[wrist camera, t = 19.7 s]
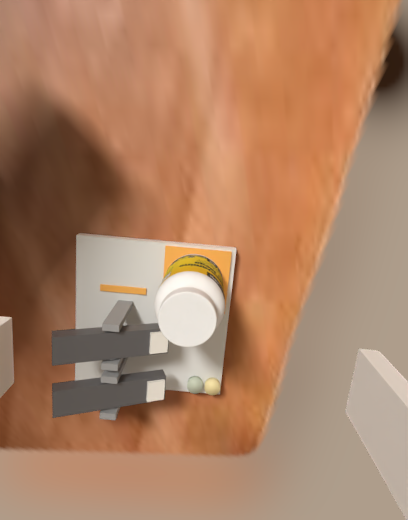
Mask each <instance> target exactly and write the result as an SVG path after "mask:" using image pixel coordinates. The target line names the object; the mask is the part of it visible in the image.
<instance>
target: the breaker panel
mask: <svg viewBox="0 0 408 520" xmlns="http://www.w3.org/2000/svg"><path fill="white" fill-rule="evenodd" d="M188 254H200V255H203V256H206V257H208V258H209V259H211V260H212V261H213V262H215V264H216V265H217V266H218V267H219V269H220V271H221V274H222V277H223V285H224V296H225V312H224V316H223V319H222V321H221V323H220V324H219V326H218V327H217V328H216V329H215V331H214V333H213V335H212V336H211V337H210V338H209V339H208V340H207V341H206V342H204V343H203V344H201V345H198V346H194V347H182V346H178V345H175V344H173V343H172V342H170V341H169V347H168V353H165V354H155V355H146V356H137V357H128V358H118V359H115V360H100V361H91V362H81V363H75V381H76V380H83V379H91V378H99V377H101V383H111V384H117V383H118V381H119V378H120V376H121V375H122V374H130V373H138V372H146V371H153V370H161V369H163V371H164V373H165V375H166V387H165V390H174V391H186V392H191V393H193V394H197V393H207V394H209V395H216V394H220V388H221V379H222V371H223V362H224V353H225V345H226V336H227V327H228V319H229V310H230V301H231V293H232V284H233V275H234V267H235V258H236V247H227V246H216V245H205V244H194V243H183V242H172V241H162V240H151V239H140V238H129V237H118V236H107V235H96V234H85V233H79V234H77V235H76V329H83V328H97V327H102V331H112V332H119V331H120V329H121V328H122V326H123V325H137V324H150V323H158V320H157V318H156V315H155V309H154V302H155V297H156V293H157V291H158V289H159V287H160V285H161V283H162V280H163V278H164V276H165V274H166V272H167V270H168V268H169V267H170V265H171V264H172V263H173V262H174V261H175V260H176V259H178V258H180V257H182V256H184V255H188ZM119 410H120V407H117V408H113V409H104V410H101V411H100V419H107V420H116V418H117V415H118V413H119Z"/></svg>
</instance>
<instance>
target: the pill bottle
mask: <svg viewBox="0 0 408 520" xmlns="http://www.w3.org/2000/svg"><path fill="white" fill-rule="evenodd" d="M154 309H155V315H156V318H157V320H158V325H159V328H160V330H161V332H162V334H163V335H164V336H165V338H166V339H167V340H169V341H170V342H172V343H173V344H175V345H178V346H182V347H194V346H198V345H201V344H203V343H204V342H206V341H207V340H208V339H209V338H210V337H211V336H212V335H213V333H214V331H215V329H216V328H217V327H218V326H219V324H220V323H221V321H222V319H223V316H224V312H225V296H224V285H223V277H222V274H221V271H220V269H219V267H218V266H217V265H216V264H215V262H213V261H212V260H211V259H209V258H208V257H206V256H203V255H200V254H188V255H184V256H182V257H180V258H178V259H176V260H175V261H174V262H173V263H172V264H171V265H170V267H169V268H168V270H167V272H166V274H165V276H164V278H163V280H162V283H161V285H160V287H159V289H158V291H157V293H156V297H155V302H154Z"/></svg>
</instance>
